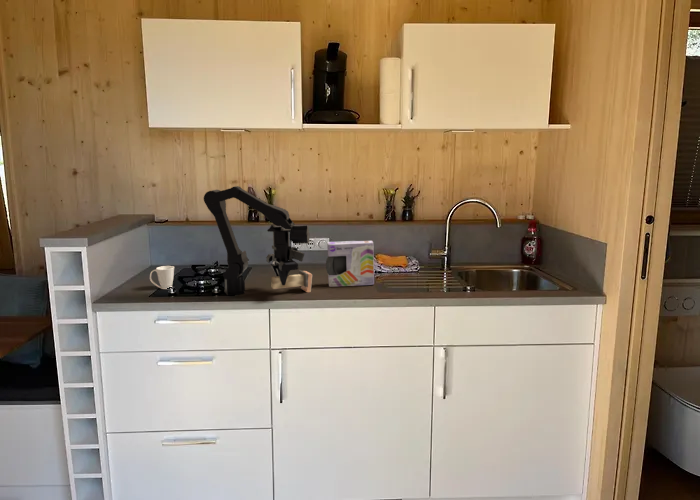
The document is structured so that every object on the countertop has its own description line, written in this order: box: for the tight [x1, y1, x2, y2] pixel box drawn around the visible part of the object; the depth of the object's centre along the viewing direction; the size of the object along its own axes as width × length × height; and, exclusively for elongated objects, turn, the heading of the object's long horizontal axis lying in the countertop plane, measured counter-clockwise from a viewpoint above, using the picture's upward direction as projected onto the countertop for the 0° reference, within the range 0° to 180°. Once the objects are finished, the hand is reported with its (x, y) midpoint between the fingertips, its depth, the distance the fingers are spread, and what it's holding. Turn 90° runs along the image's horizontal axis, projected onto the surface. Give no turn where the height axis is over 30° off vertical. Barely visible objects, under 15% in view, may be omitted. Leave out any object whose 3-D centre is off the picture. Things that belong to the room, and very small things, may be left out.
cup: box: [149, 265, 175, 290], centre depth 196 cm, size 7×10×8 cm
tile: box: [300, 270, 313, 293], centre depth 192 cm, size 2×6×7 cm, turn 27°
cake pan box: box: [325, 240, 375, 288], centre depth 199 cm, size 19×5×18 cm, turn 95°
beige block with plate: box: [270, 269, 308, 290], centre depth 189 cm, size 13×7×5 cm, turn 117°
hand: (282, 284), depth 188 cm, fingers closed on beige block with plate, 2 cm apart
